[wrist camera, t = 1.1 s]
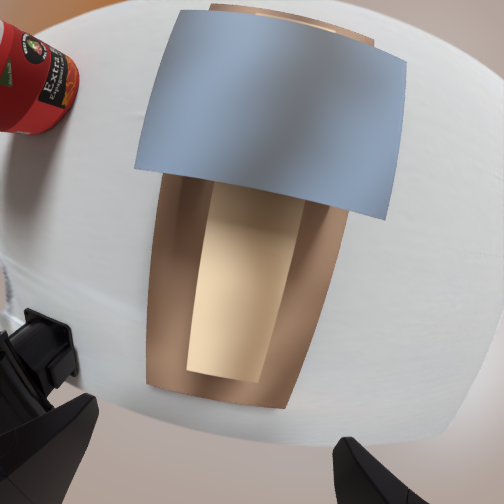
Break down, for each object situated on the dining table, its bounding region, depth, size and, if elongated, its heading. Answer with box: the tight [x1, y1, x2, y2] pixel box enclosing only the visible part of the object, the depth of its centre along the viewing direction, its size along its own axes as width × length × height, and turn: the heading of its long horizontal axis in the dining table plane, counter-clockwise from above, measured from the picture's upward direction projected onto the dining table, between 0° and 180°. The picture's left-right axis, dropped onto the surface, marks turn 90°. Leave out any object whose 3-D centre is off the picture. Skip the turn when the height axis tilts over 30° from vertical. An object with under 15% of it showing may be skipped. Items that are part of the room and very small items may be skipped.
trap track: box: [134, 4, 407, 409], centre depth 14 cm, size 12×30×10 cm, turn 168°
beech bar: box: [187, 13, 336, 383], centre depth 14 cm, size 4×19×5 cm, turn 169°
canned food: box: [0, 20, 79, 135], centre depth 11 cm, size 8×8×11 cm
